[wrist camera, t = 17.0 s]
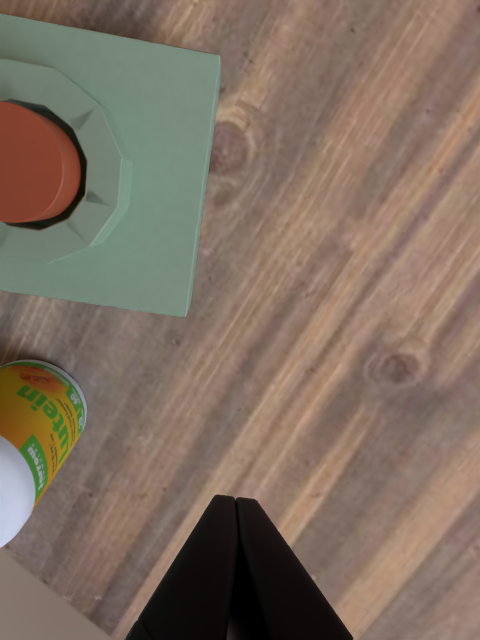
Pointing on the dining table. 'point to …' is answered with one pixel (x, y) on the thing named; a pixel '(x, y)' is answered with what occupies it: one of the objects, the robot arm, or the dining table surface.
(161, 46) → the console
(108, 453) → the dining table surface
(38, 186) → the button
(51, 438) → the supplement bottle
